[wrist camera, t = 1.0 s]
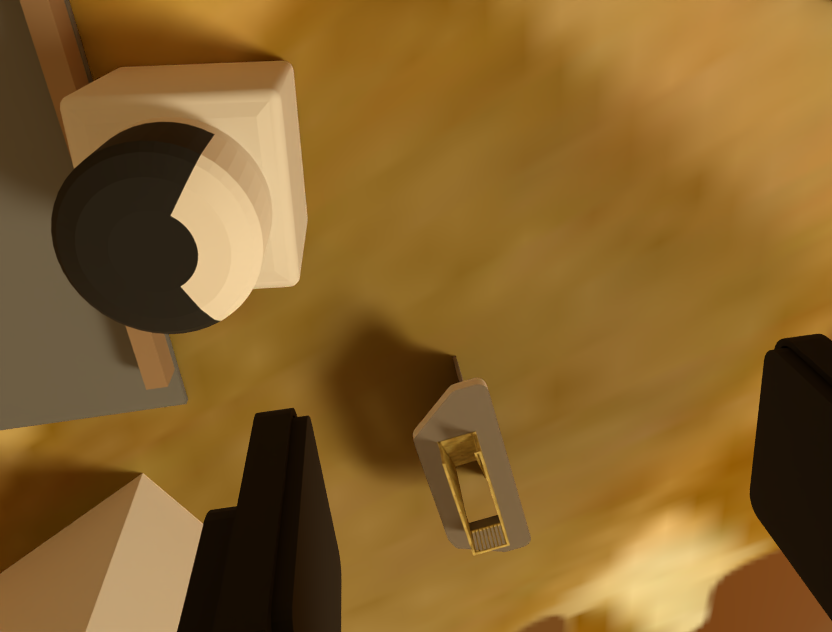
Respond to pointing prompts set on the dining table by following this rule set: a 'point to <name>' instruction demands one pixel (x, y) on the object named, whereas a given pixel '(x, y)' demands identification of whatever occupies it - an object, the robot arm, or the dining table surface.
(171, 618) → the milk
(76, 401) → the tipping mat
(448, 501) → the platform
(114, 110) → the medicine bottle
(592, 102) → the dining table surface
